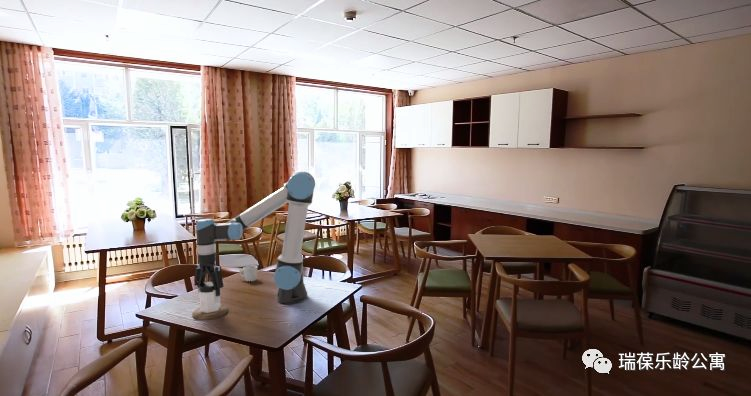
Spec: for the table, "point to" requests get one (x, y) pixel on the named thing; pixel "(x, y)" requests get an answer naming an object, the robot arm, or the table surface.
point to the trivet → (211, 315)
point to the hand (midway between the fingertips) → (209, 301)
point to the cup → (249, 273)
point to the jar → (207, 298)
